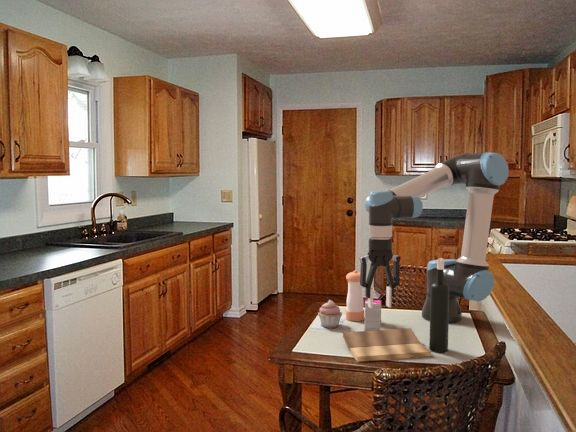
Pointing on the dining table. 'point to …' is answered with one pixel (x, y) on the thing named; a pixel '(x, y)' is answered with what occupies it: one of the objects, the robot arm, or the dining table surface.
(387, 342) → the board
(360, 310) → the peach and white cylinder
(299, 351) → the dining table surface
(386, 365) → the dining table surface
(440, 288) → the wine bottle
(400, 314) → the dining table surface
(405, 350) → the laid plank
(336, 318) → the cupcake
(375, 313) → the supplement box
